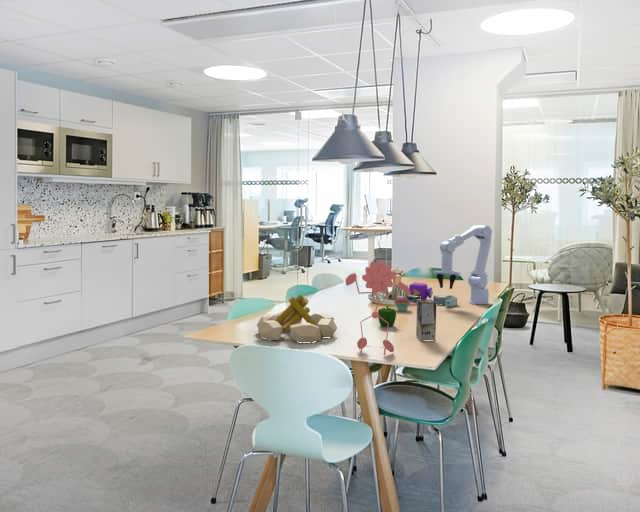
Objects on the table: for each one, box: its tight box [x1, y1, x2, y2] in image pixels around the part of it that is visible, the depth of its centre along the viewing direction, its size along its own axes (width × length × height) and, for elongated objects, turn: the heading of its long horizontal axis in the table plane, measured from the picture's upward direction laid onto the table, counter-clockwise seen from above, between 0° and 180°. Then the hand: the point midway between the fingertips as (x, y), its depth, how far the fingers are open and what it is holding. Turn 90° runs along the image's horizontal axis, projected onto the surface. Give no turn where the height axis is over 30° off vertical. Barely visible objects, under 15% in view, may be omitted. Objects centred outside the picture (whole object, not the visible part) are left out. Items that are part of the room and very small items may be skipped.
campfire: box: [256, 294, 338, 343], centre depth 256 cm, size 35×34×17 cm
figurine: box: [344, 260, 410, 356], centre depth 228 cm, size 15×26×35 cm, turn 69°
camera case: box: [432, 295, 457, 306], centre depth 335 cm, size 11×8×4 cm
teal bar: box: [444, 297, 458, 308], centre depth 327 cm, size 10×2×4 cm, turn 133°
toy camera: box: [408, 281, 434, 300], centre depth 347 cm, size 11×14×10 cm
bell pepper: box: [377, 303, 397, 327], centre depth 275 cm, size 8×8×10 cm
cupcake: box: [393, 292, 412, 312], centre depth 314 cm, size 9×8×12 cm
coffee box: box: [415, 299, 437, 341], centre depth 250 cm, size 9×6×16 cm
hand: (446, 288), depth 327 cm, fingers open, 5 cm apart
